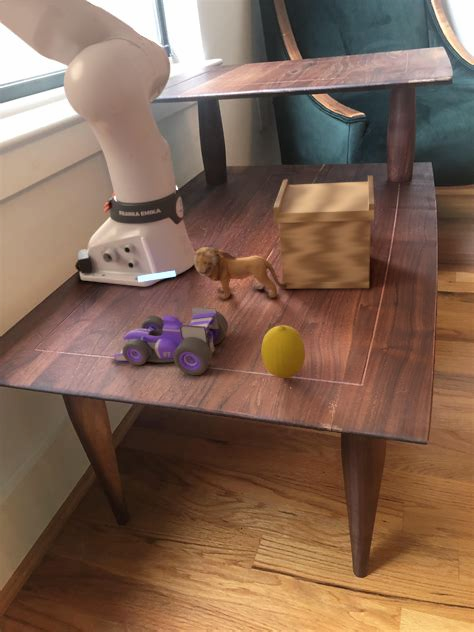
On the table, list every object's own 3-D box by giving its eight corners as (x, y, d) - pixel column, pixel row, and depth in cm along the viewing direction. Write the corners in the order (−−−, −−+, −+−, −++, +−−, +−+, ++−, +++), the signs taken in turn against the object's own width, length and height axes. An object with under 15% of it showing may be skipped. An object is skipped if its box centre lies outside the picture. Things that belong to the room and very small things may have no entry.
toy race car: (139, 330, 85) (130, 294, 82) (230, 337, 81) (225, 299, 77) (110, 367, 78) (99, 329, 74) (209, 377, 73) (202, 337, 70)
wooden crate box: (280, 290, 91) (273, 207, 84) (288, 255, 102) (283, 179, 94) (372, 290, 88) (374, 203, 80) (371, 254, 99) (372, 175, 91)
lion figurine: (199, 305, 90) (190, 256, 85) (201, 289, 94) (193, 242, 90) (288, 297, 89) (284, 247, 84) (286, 281, 93) (282, 233, 89)
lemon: (271, 361, 75) (267, 312, 70) (311, 367, 73) (308, 316, 68) (258, 387, 70) (252, 335, 66) (299, 393, 68) (296, 341, 64)
